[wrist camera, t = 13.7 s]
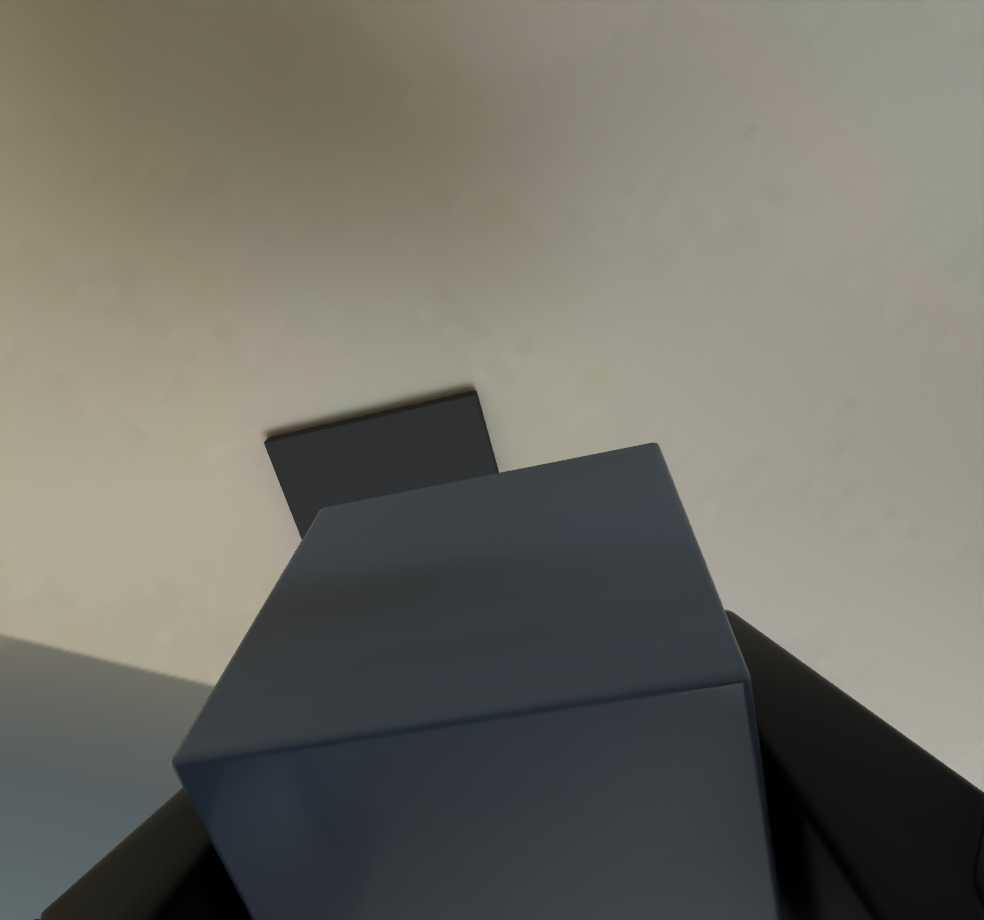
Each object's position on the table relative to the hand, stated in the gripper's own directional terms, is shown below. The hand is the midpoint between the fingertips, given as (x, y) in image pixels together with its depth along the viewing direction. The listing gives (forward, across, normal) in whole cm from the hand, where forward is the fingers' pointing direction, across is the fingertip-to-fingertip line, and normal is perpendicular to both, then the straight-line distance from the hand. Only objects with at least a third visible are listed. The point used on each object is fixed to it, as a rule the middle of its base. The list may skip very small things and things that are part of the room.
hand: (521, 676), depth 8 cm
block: (+1, 0, 0) cm, 1 cm away
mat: (+12, +4, +3) cm, 13 cm away
